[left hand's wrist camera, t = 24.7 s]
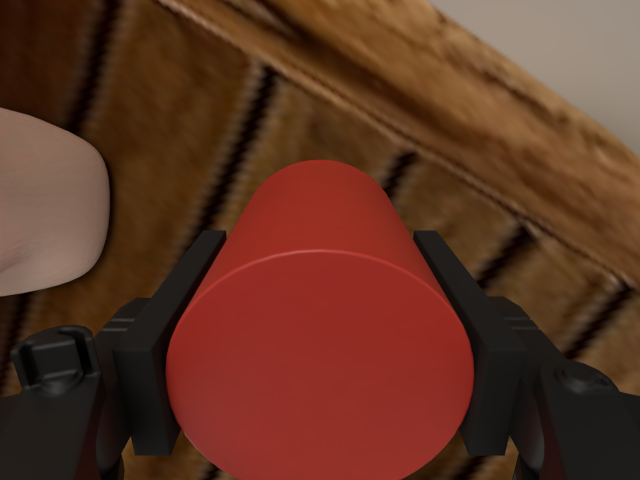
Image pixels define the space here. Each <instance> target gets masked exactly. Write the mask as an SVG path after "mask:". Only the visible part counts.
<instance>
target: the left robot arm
mask: <svg viewBox="0 0 640 480" xmlns="http://www.w3.org/2000/svg"><path fill="white" fill-rule="evenodd" d="M226 240H227V238H226V231H203V232H202V233H201V235H200V236H199V237H198V238H197V240H196V241H195V242H194V244H193V245H192V246H191V247H190V249H189V250H188V251H187V253H186V254H185V255H184V256H183V258H182V259H181V260H180V262H179V263H178V264H177V266H176V267H175V268H174V269H173V271H172V272H171V273H170V275H169V276H168V277H167V278H166V280H165V281H164V282H163V284H162V285H161V286H160V287H159V289H158V290H157V291H156V293H155V294H154V295H153V296H152V298H135V299H134V300H132V301H131V302H129V303H127V304H126V305H124V306H122V307H121V308H120V309H119V310H118V311H117V312H116V313H115V314H114V315H113V317H112V318H111V319H110V322H107V323H106V324H105V326H104V327H103V328H102V331H99V332H98V334H97V335H96V336H95V337H94V338H93V335H92V331H91V330H89V329H88V328H86V327H84V326H78V325H65V326H58V327H54V328H50V329H46V330H43V331H41V332H38V333H36V334H33V335H31V336H29V337H28V338H26V339H24V340H23V341H21V342H20V343H18V344H17V345H16V346H15V347H14V348H13V349H12V350H11V352H10V354H11V357H12V360H13V363H14V366H15V369H16V372H17V374H18V377H19V380H20V383H21V386H22V391H21V393H20V394H17V395H12V396H8V397H3V398H0V480H124V472H125V470H124V463H123V458H122V454H121V453H122V451H123V449H124V447H125V446H126V444H127V442H128V440H129V438H130V436H131V439H132V443H133V448H134V452H135V455H171V453H172V450H173V448H174V445H175V443H176V440H177V438H178V435H179V433H180V430H181V427H180V425H179V424H178V422H177V420H176V418H175V415H174V413H173V411H172V408H171V406H170V402H169V398H168V394H167V388H166V377H165V368H166V356H167V352H168V348H169V344H170V340H171V337H172V335H173V333H174V330H175V328H176V326H177V323H178V322H179V320H180V318H181V317H182V315H183V313H184V312H185V310H186V308H187V306H188V305H189V303H190V301H191V300H192V298H193V296H194V295H195V293H196V291H197V289H198V288H199V286H200V284H201V283H202V281H203V279H204V278H205V276H206V274H207V272H208V271H209V269H210V267H211V266H212V264H213V262H214V261H215V259H216V257H217V255H218V254H219V252H220V250H221V249H222V247H223V245H224V244H225V242H226ZM413 240H414V242H415V244H416V246H417V247H418V249H419V251H420V252H421V254H422V256H423V258H424V259H425V261H426V263H427V264H428V266H429V268H430V269H431V271H432V273H433V275H434V276H435V278H436V280H437V281H438V283H439V285H440V287H441V288H442V290H443V292H444V293H445V295H446V297H447V298H448V300H449V302H450V304H451V305H452V307H453V309H454V310H455V312H456V314H457V316H458V317H459V319H460V321H461V322H462V324H463V326H464V329H465V331H466V333H467V336H468V338H469V341H470V345H471V349H472V353H473V358H474V373H475V375H474V385H473V393H472V397H471V401H470V405H469V408H468V410H467V413H466V415H465V417H464V419H463V422H462V424H461V425H460V427H459V428H458V429H459V431H460V434H461V436H462V439H463V441H464V444H465V446H466V449H467V451H468V454H469V455H505V451H506V447H507V442H508V438H509V435H510V436H511V438H512V440H513V442H514V444H515V446H516V448H517V450H518V451H519V454H518V458H517V462H516V467H515V471H514V475H513V479H512V480H640V396H636V395H632V394H627V393H623V392H619V390H618V388H617V387H616V385H615V384H614V383H613V382H612V380H611V379H610V378H608V377H607V376H606V375H604V374H603V373H602V372H600V371H599V370H597V369H595V368H593V367H590V366H588V365H586V364H584V363H580V362H577V361H573V360H569V359H566V358H565V357H564V356H563V355H562V353H561V352H560V351H559V350H558V349H557V348H556V347H555V346H554V344H553V343H552V342H551V341H550V340H549V339H548V338H547V337H546V335H545V334H544V333H543V332H542V331H541V330H539V329H538V326H537V325H536V324H535V323H534V322H533V321H532V320H530V317H529V316H528V315H527V314H526V313H525V312H524V311H523V309H522V308H521V307H520V306H518V305H517V304H515V303H513V302H512V301H510V300H508V299H507V298H505V297H487V296H486V294H485V293H484V292H483V290H482V289H481V288H480V286H479V285H478V284H477V283H476V281H475V280H474V279H473V277H472V276H471V275H470V274H469V272H468V271H467V270H466V268H465V267H464V266H463V265H462V263H461V262H460V261H459V259H458V258H457V257H456V256H455V254H454V253H453V252H452V250H451V249H450V248H449V246H448V245H447V244H446V243H445V241H444V240H443V239H442V237H441V236H440V235H439V234H438V232H437V231H414V236H413Z"/></svg>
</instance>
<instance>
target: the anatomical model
mask: <svg viewBox="0 0 640 480" xmlns="http://www.w3.org/2000/svg"><path fill="white" fill-rule="evenodd" d="M109 213H110V188H109V178H108V172H107V169H106V165H105V162H104V160H103V159H102V157H101V155H100V154H99V152H98V151H97V150H96V149H95V148H94V147H93V146H92V145H91V144H89V143H88V142H86V141H85V140H83V139H81V138H80V137H78V136H76V135H74V134H72V133H70V132H68V131H66V130H63V129H61V128H59V127H57V126H54V125H52V124H50V123H47V122H45V121H43V120H40V119H37V118H35V117H32V116H30V115H26V114H22V113H19V112H15V111H11V110H7V109H4V108H0V296H6V295H13V294H19V293H25V292H30V291H35V290H40V289H44V288H48V287H52V286H56V285H60V284H63V283H66V282H69V281H71V280H74V279H76V278H78V277H80V276H82V275H84V274H85V273H86V272H87V271H89V270H90V269H91V268H92V267H93V266H94V264H95V263H96V262H97V260H98V259H99V257H100V254H101V252H102V250H103V247H104V244H105V241H106V236H107V231H108V225H109Z"/></svg>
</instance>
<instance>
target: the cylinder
mask: <svg viewBox="0 0 640 480" xmlns="http://www.w3.org/2000/svg"><path fill="white" fill-rule="evenodd" d="M474 375H475V373H474V358H473V353H472V349H471V345H470V341H469V338H468V336H467V333H466V331H465V329H464V326H463V324H462V322H461V321H460V319H459V317H458V316H457V314H456V312H455V310H454V309H453V307H452V305H451V304H450V302H449V300H448V298H447V297H446V295H445V293H444V292H443V290H442V288H441V287H440V285H439V283H438V281H437V280H436V278H435V276H434V275H433V273H432V271H431V269H430V268H429V266H428V264H427V263H426V261H425V259H424V258H423V256H422V254H421V252H420V251H419V249H418V247H417V246H416V244H415V242H414V240H413V239H412V237H411V235H410V234H409V232H408V230H407V229H406V227H405V225H404V223H403V222H402V220H401V218H400V217H399V215H398V213H397V211H396V210H395V208H394V206H393V205H392V203H391V201H390V200H389V198H388V196H387V195H386V193H385V192H384V190H383V189H382V188H381V187H380V186H379V184H378V183H377V182H375V181H374V180H373V179H372V178H371V177H370V176H368V175H367V174H365V173H364V172H362V171H361V170H359V169H357V168H355V167H353V166H350V165H347V164H344V163H341V162H336V161H331V160H309V161H304V162H299V163H296V164H293V165H290V166H287V167H285V168H283V169H281V170H279V171H278V172H276V173H275V174H273V175H272V176H270V177H269V178H268V179H267V180H266V181H265V182H263V183H262V184H261V186H260V187H259V188H258V189H257V190H256V192H255V193H254V195H253V196H252V198H251V199H250V201H249V203H248V204H247V206H246V208H245V210H244V211H243V213H242V215H241V216H240V218H239V220H238V221H237V223H236V225H235V227H234V228H233V230H232V232H231V233H230V235H229V237H228V238H227V240H226V242H225V244H224V245H223V247H222V249H221V250H220V252H219V254H218V255H217V257H216V259H215V261H214V262H213V264H212V266H211V267H210V269H209V271H208V272H207V274H206V276H205V278H204V279H203V281H202V283H201V284H200V286H199V288H198V289H197V291H196V293H195V295H194V296H193V298H192V300H191V301H190V303H189V305H188V306H187V308H186V310H185V312H184V313H183V315H182V317H181V318H180V320H179V322H178V323H177V326H176V328H175V330H174V333H173V335H172V337H171V340H170V344H169V348H168V352H167V356H166V368H165V377H166V388H167V394H168V398H169V402H170V406H171V408H172V411H173V413H174V415H175V418H176V420H177V422H178V424H179V425H180V427H181V429H182V430H183V432H184V434H185V435H186V436H187V438H188V439H189V440H190V441H191V443H192V444H193V445H194V446H195V448H196V449H197V450H198V451H200V452H201V453H202V454H203V455H204V456H205V457H206V458H207V459H208V460H209V461H211V462H212V463H213V464H215V465H216V466H217V467H219V468H220V469H221V470H223V471H225V472H226V473H228V474H230V475H231V476H233V477H235V478H237V479H239V480H401V479H403V478H405V477H407V476H408V475H410V474H412V473H414V472H415V471H417V470H419V469H420V468H421V467H423V466H424V465H425V464H427V463H428V462H429V461H431V460H432V459H433V458H434V457H435V456H436V455H437V454H438V453H439V452H440V451H441V450H442V449H443V448H444V447H445V446H446V445H447V444H448V442H449V441H450V440H451V439H452V438H453V436H454V435H455V433H456V432H457V430H458V428H459V427H460V425H461V424H462V422H463V419H464V417H465V415H466V413H467V410H468V408H469V405H470V401H471V397H472V393H473V385H474Z"/></svg>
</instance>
